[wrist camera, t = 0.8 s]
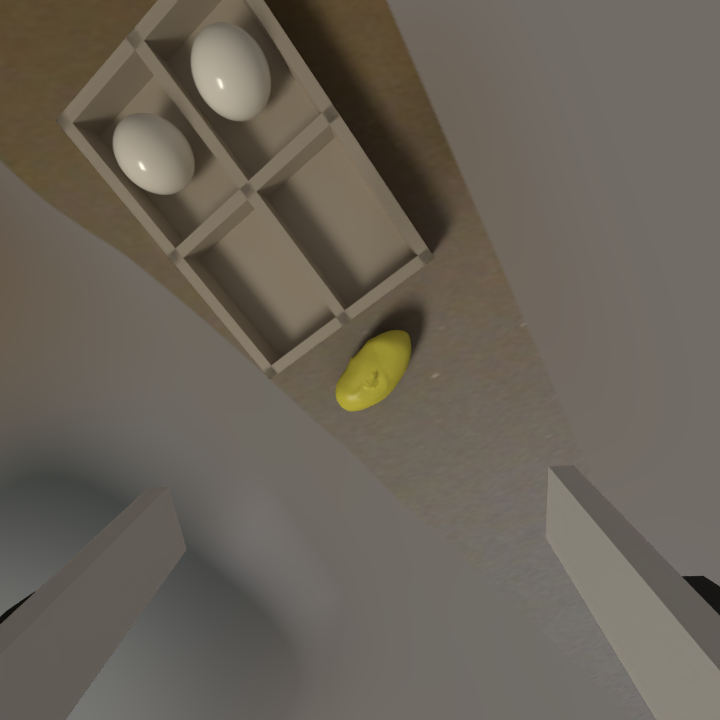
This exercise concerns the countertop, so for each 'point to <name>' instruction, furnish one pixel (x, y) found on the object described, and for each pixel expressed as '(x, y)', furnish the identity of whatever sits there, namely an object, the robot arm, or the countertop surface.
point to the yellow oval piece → (374, 370)
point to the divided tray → (252, 186)
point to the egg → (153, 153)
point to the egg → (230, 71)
